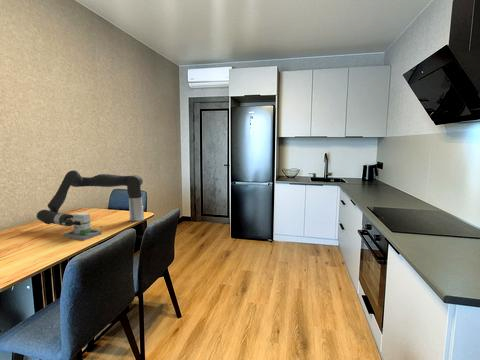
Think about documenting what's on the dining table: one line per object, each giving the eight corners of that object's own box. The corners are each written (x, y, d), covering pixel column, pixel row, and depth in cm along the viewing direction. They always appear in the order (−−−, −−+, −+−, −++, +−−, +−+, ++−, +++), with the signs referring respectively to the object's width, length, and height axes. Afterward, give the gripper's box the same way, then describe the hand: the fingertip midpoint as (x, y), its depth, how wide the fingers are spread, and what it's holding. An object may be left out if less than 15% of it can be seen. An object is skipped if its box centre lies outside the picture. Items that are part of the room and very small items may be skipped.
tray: (82, 230, 174) (82, 227, 174) (101, 233, 168) (101, 230, 168) (63, 237, 162) (63, 233, 162) (84, 240, 156) (83, 236, 156)
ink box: (91, 232, 166) (90, 213, 164) (84, 234, 161) (83, 215, 160) (81, 230, 169) (79, 212, 167) (73, 232, 164) (72, 214, 163)
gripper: (52, 216, 162) (73, 219, 156) (74, 211, 176) (93, 213, 170) (53, 228, 163) (73, 231, 157) (75, 222, 176) (94, 225, 171)
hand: (84, 222), depth 164 cm, fingers closed on ink box, 5 cm apart
